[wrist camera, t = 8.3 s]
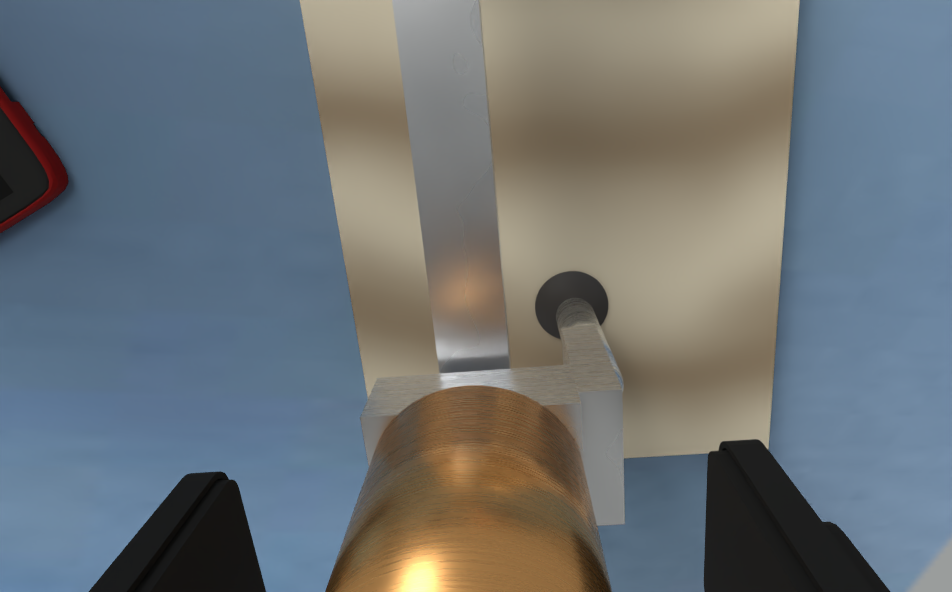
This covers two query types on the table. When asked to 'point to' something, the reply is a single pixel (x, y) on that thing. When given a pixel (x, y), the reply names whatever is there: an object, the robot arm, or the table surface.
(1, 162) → the cell phone
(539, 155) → the hole plate
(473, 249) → the frame
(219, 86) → the table surface
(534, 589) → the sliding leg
